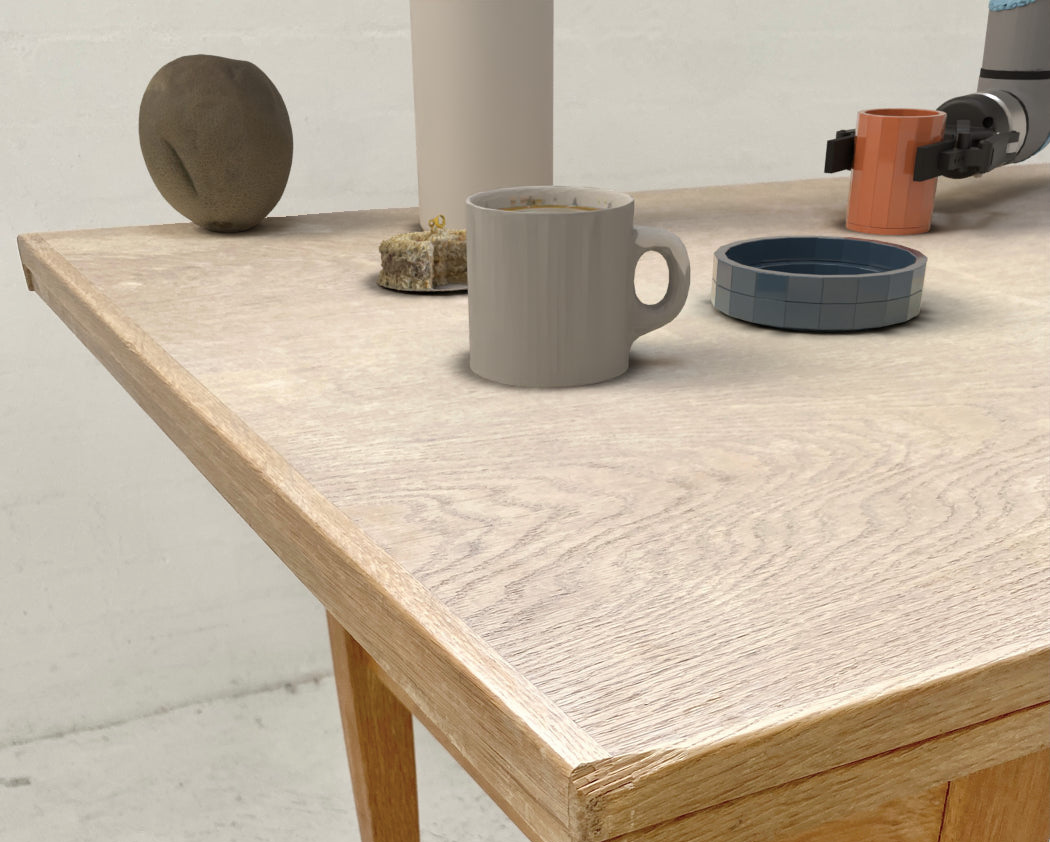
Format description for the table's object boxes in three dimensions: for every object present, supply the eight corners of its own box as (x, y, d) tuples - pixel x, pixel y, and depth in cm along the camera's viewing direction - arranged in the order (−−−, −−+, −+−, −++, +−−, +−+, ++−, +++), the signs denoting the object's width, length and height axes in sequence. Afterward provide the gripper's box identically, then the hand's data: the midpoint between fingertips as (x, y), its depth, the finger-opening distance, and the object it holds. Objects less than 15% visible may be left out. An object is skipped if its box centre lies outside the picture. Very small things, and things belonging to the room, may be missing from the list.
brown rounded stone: (327, 233, 121) (312, 54, 113) (181, 250, 114) (155, 61, 107) (269, 212, 131) (252, 47, 124) (132, 226, 125) (105, 53, 117)
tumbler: (946, 234, 118) (963, 114, 113) (872, 240, 116) (887, 118, 111) (900, 220, 124) (915, 106, 119) (830, 225, 122) (842, 110, 117)
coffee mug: (455, 387, 77) (448, 211, 72) (486, 344, 86) (483, 184, 81) (679, 396, 75) (689, 216, 70) (689, 352, 84) (698, 188, 79)
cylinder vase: (399, 238, 118) (381, -81, 105) (448, 216, 128) (438, -78, 116) (528, 246, 114) (527, -83, 102) (569, 222, 125) (571, -80, 112)
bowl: (960, 327, 88) (970, 267, 86) (769, 346, 85) (774, 284, 83) (851, 283, 100) (857, 230, 98) (679, 298, 97) (681, 243, 95)
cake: (351, 292, 102) (343, 220, 99) (445, 274, 108) (440, 206, 105) (434, 301, 95) (428, 224, 93) (530, 282, 101) (526, 209, 99)
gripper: (1070, 184, 125) (980, 217, 110) (872, 166, 136) (765, 195, 121) (1086, 99, 121) (995, 121, 106) (881, 88, 132) (772, 107, 117)
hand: (873, 160), depth 113 cm, fingers closed on tumbler, 8 cm apart
